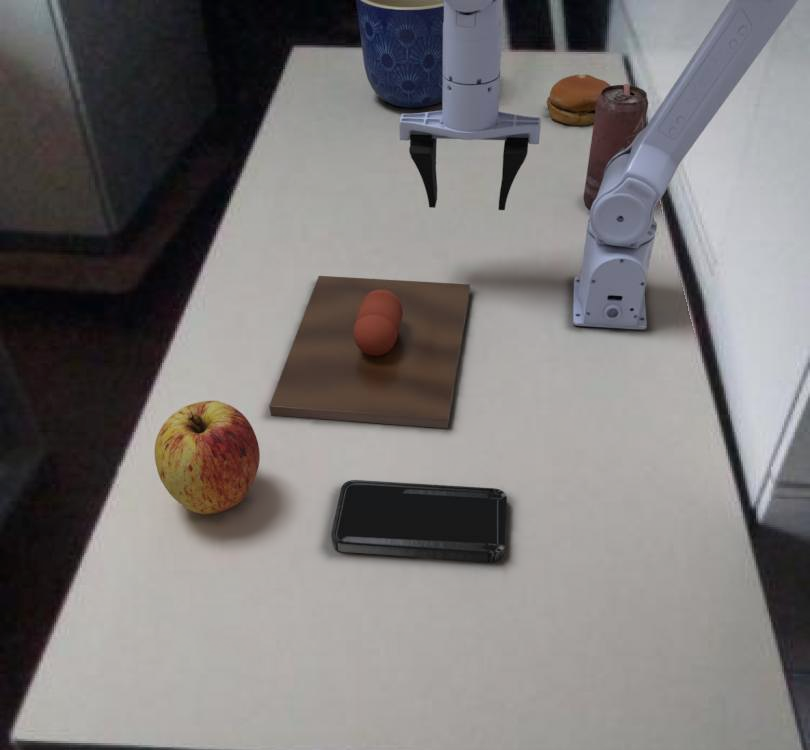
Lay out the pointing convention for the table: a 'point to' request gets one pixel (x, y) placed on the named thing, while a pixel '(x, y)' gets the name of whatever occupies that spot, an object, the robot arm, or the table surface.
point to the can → (613, 131)
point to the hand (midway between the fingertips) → (467, 204)
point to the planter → (403, 49)
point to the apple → (207, 456)
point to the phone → (420, 520)
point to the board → (375, 375)
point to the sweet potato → (378, 322)
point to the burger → (575, 99)
